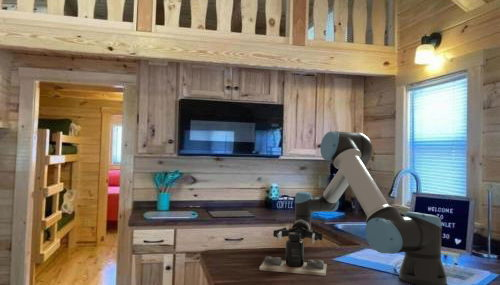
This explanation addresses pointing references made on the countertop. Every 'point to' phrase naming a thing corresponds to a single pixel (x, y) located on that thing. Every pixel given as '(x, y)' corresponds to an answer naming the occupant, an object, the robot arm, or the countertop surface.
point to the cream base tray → (307, 268)
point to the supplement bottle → (294, 250)
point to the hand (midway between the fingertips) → (295, 238)
